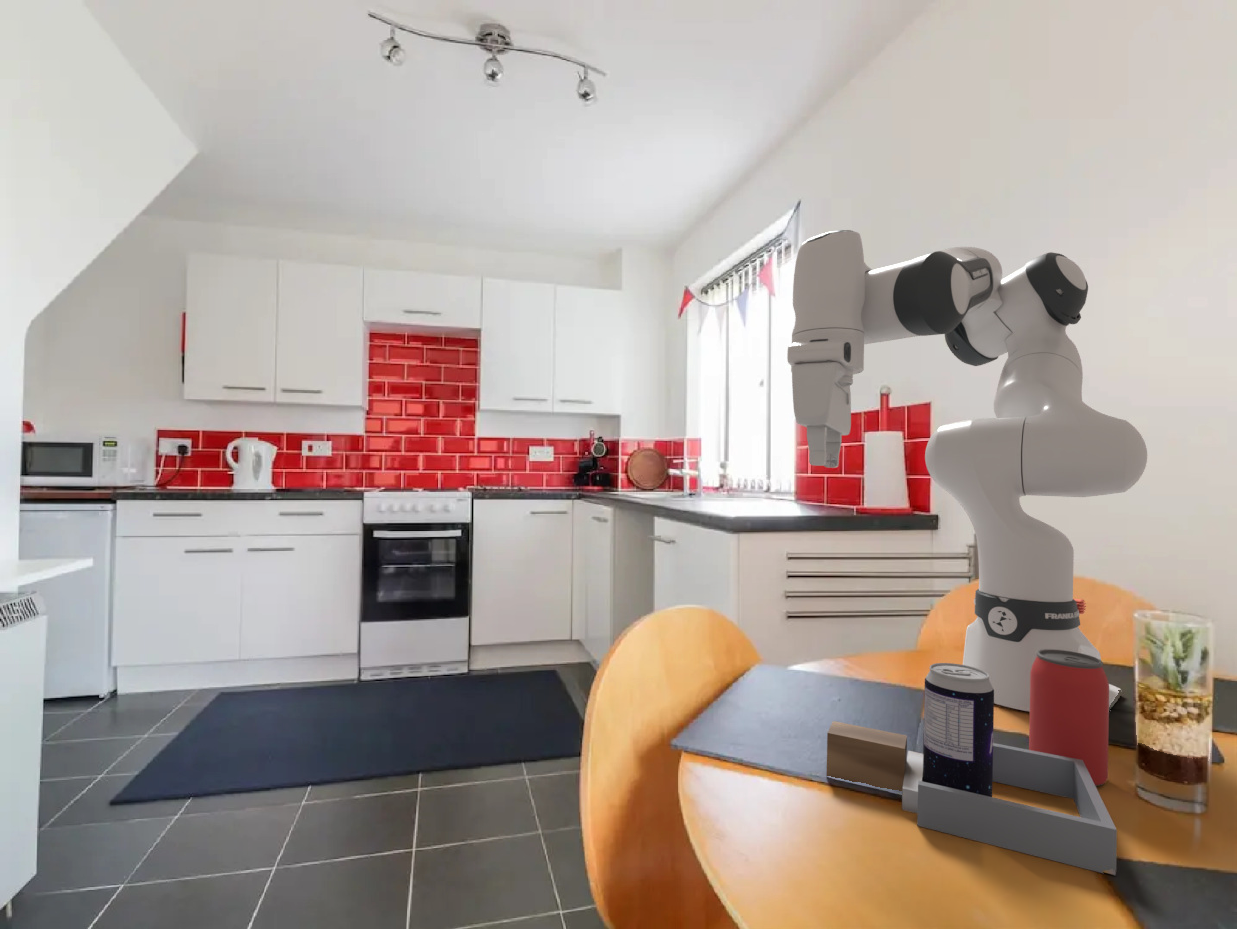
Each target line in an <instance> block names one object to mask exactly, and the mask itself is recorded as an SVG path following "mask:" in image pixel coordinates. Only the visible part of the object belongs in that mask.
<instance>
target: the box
mask: <svg viewBox="0 0 1237 929" xmlns="http://www.w3.org/2000/svg"><path fill="white" fill-rule="evenodd" d="M922 735H923V736H922V746H923V745H924V730H923V734H922ZM993 782H994V783H997V784H998V783H999V784H1003V785H1009V786H1012V787H1016V788H1021V789H1022V788H1023V789H1026V790H1031V791H1037V792H1040V793H1045V794H1049V795H1054V796H1059V797H1064V798H1068V799H1073V801H1074V804H1075V806H1076V808H1077V812H1078V814H1079V816H1077V815H1074V814H1073V815H1072V814H1067V813H1063V812H1061V811H1054V810H1050V809H1045V808H1041V807H1038V806H1033V805H1029V804H1025V803H1024V804H1023V803H1019V802H1015V801H1010V800H1006V799H1001V798H999V797H998V798H997V797H993V796H992V797H989V796H985V795H980V794H976V793H971V792H967V791H962V790H958V789H954V788H949V787H945V786H940V785H936V784H931V783H927V782H923V781H918V813H916V814H917V818H916V820H917V822H916V823H917V824H916V825H917V826H918V827H921V828H926V829H930V830H933V831H936V832H940V833H941V832H942V833H944V834H947V835H953V836H957V837H961V838H963V839H968V840H973V841H976V842H979V843H983V844H987V845H992V846H996V847H999V848H1003V849H1007V850H1011V851H1015V852H1018V853H1021V854H1022V853H1023V854H1027V855H1030V856H1035V857H1038V858H1042V859H1046V860H1049V861H1055V862H1059V863H1061V864H1062V863H1063V864H1065V865H1070V866H1073V867H1077V868H1081V869H1083V870H1084V869H1085V870H1090V871H1091V872H1095V873H1096V872H1097V873H1100V874H1104V873H1103V871H1105V870H1110V869H1113V870H1116V871H1117V846H1118V844H1117V843H1118V842H1117V840H1118V836H1117V835H1118V833H1117V832H1118V830H1117V828H1116V826H1115V823H1114V822H1113V819H1112V818H1111V815H1110V813H1109V811H1108V808H1107V807H1106V805H1105V803H1104V801H1103V799H1102V797H1101V795H1100V793H1099V790H1098V788H1097V786H1095V784H1094V782H1093V780H1092V778H1091V776H1090V774H1089V772H1088V770H1087V768H1086V766H1085V764H1084V762H1083V760H1079V759H1074V758H1069V757H1064V756H1059V755H1053V754H1048V753H1043V752H1038V751H1032V750H1029V749H1026V748H1021V747H1017V746H1010V745H1005V744H1001V743H997V742H996V743H995V742H993ZM993 782H992V783H993Z"/></svg>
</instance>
